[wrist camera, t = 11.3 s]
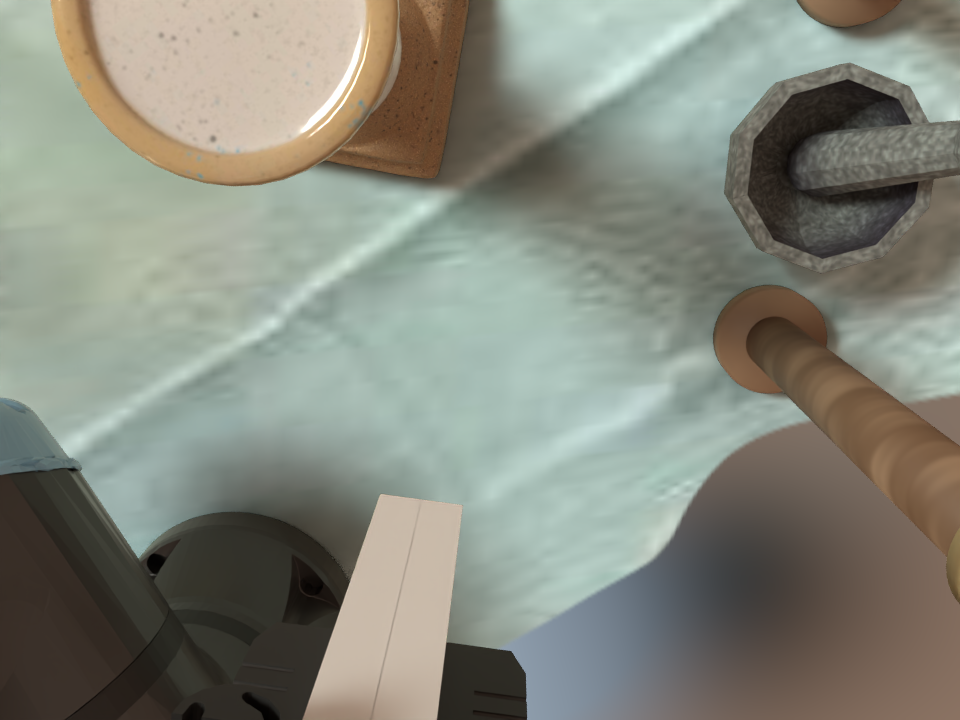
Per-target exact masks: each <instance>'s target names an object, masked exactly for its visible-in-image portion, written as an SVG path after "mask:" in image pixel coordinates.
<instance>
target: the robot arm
mask: <svg viewBox="0 0 960 720" xmlns="http://www.w3.org/2000/svg"><path fill="white" fill-rule="evenodd" d="M81 470H82V467H81V466H80V464H79V462H78V461H76V460H75V459H73V458H69V457H68V456H67V455H66V453H65V452H64V451H63V449H62V448H61V447H60V445H59V444H58V443H57V441H56V440H55V439H54V437H53V436H52V435H51V433H50V432H49V431H48V429H47V428H46V427H45V425H44V424H43V423H42V421H41V420H40V419H39V417H38V416H37V415H36V414H35V412H33V411H32V410H31V409H30V408H29V407H27V406H26V405H24V404H22V403H20V402H18V401H15V400H12V399H7V398H0V720H527V704H526V703H527V702H526V673H525V672H524V670H523V669H522V667H521V666H520V664H519V663H518V661H517V660H516V658H515V656H514V655H513V653H512V652H511V651H506V650H498V649H491V648H484V647H476V646H469V645H462V644H454V643H447V642H446V640H447V631H448V623H449V615H450V607H451V598H452V590H453V582H454V574H455V565H456V557H457V549H458V541H459V532H460V524H461V516H462V508H463V505H458V504H450V503H443V502H436V501H428V500H421V499H414V498H406V497H399V496H392V495H385V494H380V496H379V499H378V502H377V505H376V508H375V511H374V514H373V517H372V520H371V522H370V525H369V528H368V531H367V534H366V537H365V540H364V543H363V546H362V549H361V551H360V554H359V557H358V560H357V563H356V566H355V569H354V572H353V575H352V578H351V580H350V583H349V582H348V580H347V578H346V576H345V575H344V573H343V571H342V570H341V568H340V567H339V565H338V564H337V563H336V561H335V560H334V559H333V558H332V557H331V556H330V554H329V553H328V552H327V551H326V550H325V549H324V548H323V547H321V546H320V545H319V544H318V543H317V542H316V541H314V540H313V539H312V538H310V537H309V536H308V535H306V534H304V533H303V532H301V531H300V530H298V529H296V528H294V527H292V526H290V525H288V524H286V523H284V522H281V521H278V520H276V519H273V518H269V517H266V516H262V515H257V514H251V513H242V512H221V513H213V514H207V515H203V516H199V517H195V518H192V519H189V520H187V521H185V522H182V523H180V524H178V525H176V526H174V527H172V528H171V529H169V530H168V531H166V532H165V533H163V534H162V535H161V536H159V537H158V538H157V539H156V540H155V541H154V542H153V543H152V544H151V545H150V546H149V547H148V548H147V549H146V550H145V552H144V553H143V554H142V555H141V556H140V558H139V559H138V557H137V556H136V554H135V553H134V552H133V550H132V549H131V547H130V546H129V544H128V543H127V541H126V540H125V538H124V537H123V535H122V534H121V532H120V531H119V529H118V528H117V526H116V525H115V523H114V522H113V520H112V519H111V517H110V516H109V514H108V513H107V511H106V510H105V508H104V507H103V505H102V504H101V502H100V501H99V499H98V498H97V496H96V495H95V493H94V492H93V490H92V489H91V487H90V486H89V484H88V483H87V481H86V480H85V478H84V477H83V475H82V474H81V472H80V471H81Z"/></svg>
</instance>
